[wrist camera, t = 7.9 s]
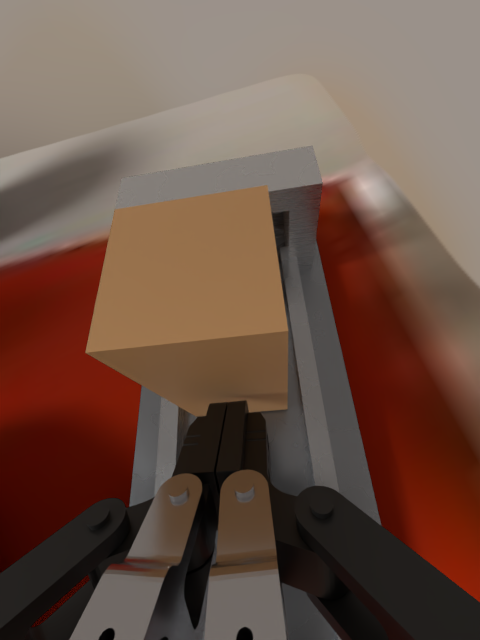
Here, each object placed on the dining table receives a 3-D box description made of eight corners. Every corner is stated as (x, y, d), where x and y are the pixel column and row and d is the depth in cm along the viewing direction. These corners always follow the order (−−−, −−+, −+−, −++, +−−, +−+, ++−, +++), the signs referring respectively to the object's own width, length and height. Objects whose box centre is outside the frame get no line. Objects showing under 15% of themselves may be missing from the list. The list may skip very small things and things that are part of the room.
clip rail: (426, 760, 11) (661, 1248, 4) (117, 748, 12) (-100, 1106, 5) (310, 231, 23) (320, 132, 16) (162, 252, 24) (114, 168, 17)
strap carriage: (287, 409, 16) (288, 330, 7) (196, 416, 16) (85, 352, 7) (266, 238, 21) (251, 73, 12) (198, 248, 22) (138, 95, 13)
